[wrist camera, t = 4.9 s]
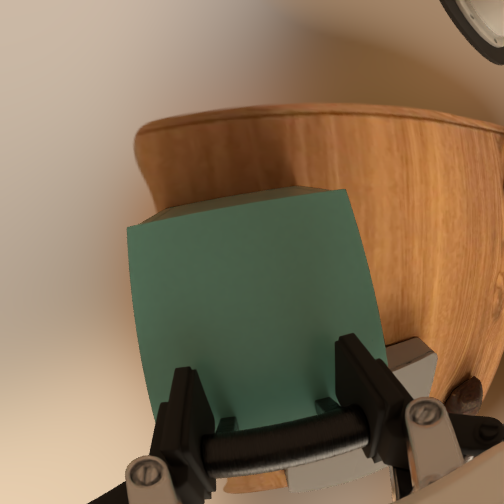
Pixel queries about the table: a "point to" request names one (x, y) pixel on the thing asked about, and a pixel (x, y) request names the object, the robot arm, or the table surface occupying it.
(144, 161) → the table surface
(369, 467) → the electronic device
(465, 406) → the dark brown rock
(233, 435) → the lid
